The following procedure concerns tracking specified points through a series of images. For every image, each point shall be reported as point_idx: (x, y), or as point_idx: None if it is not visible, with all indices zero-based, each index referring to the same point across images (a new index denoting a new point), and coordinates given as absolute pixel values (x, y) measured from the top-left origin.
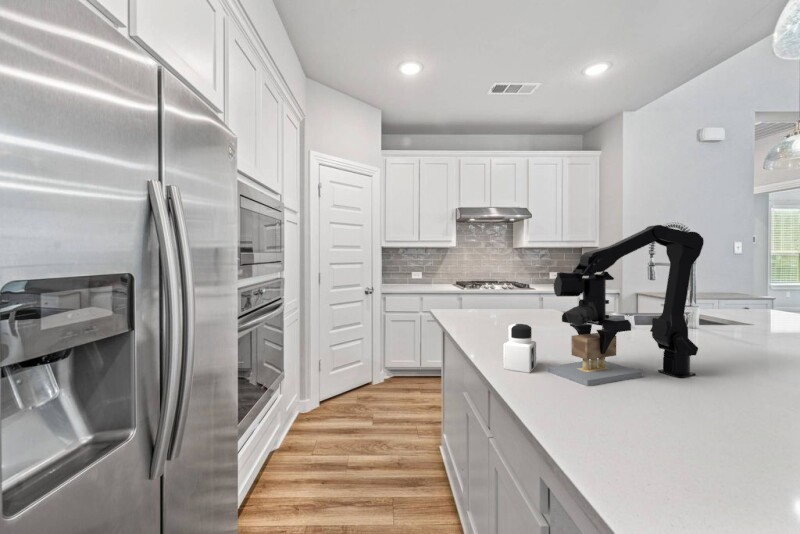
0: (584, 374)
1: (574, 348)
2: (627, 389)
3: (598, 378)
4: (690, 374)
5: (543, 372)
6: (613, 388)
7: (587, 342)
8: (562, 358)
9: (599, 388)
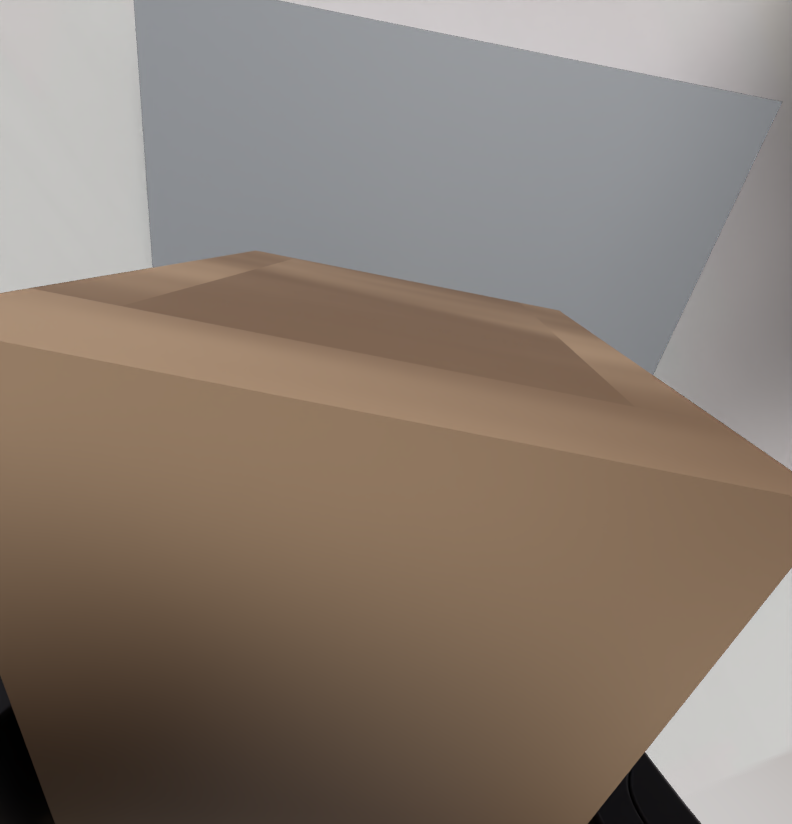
0: (306, 185)
1: (525, 327)
2: (11, 267)
3: (147, 178)
4: None
5: (766, 29)
6: (56, 190)
7: (10, 303)
8: (772, 604)
9: (88, 64)
